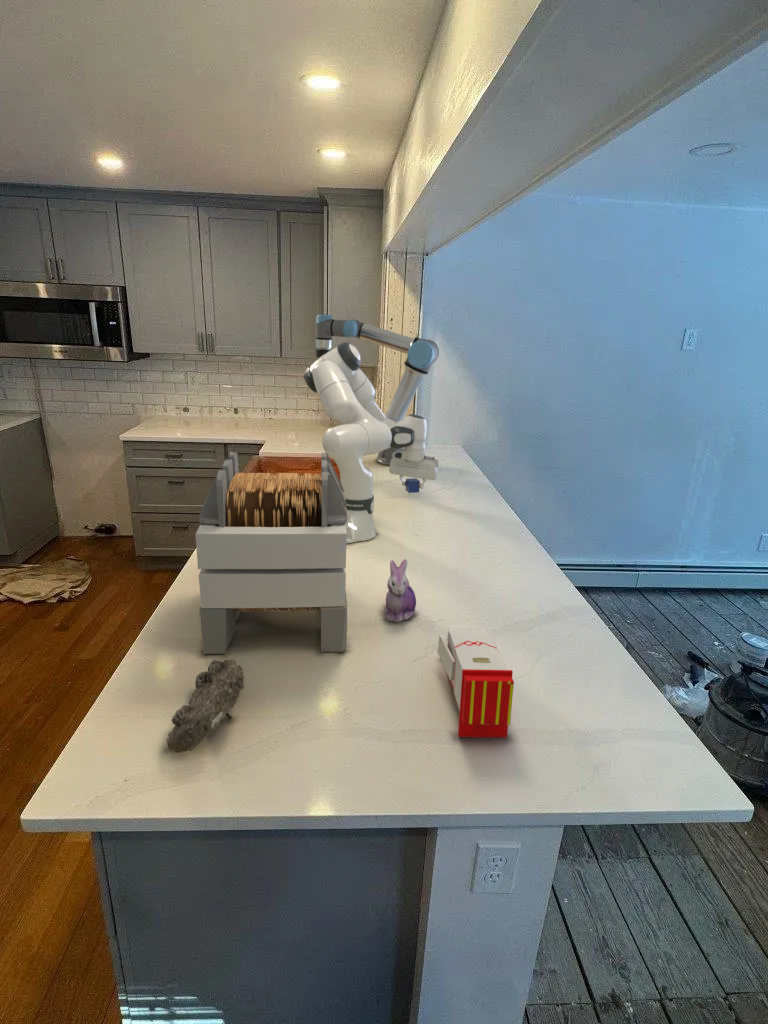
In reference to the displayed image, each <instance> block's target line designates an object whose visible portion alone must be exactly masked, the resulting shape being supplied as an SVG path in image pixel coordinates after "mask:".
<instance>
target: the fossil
mask: <svg viewBox="0 0 768 1024" xmlns="http://www.w3.org/2000/svg"><path fill="white" fill-rule="evenodd" d="M243 670H244V669H243V667H242V665H240V664H237V662H236V661H235V660H234V659H232V658H231V659H227V658H226V659H224V660H223V661H222V660H217V659H212V660H211V661H210V663H209V665H208V666H207V671H201V672H199V673H198V674H197V675H196V676H195V680H194V684H195V685H194V687H195V689H194V690H193V693H192V694H191V697H190V698H189V700H188V704H184V705H182V706H181V707H180V709H177V710H176V711H175V713H174V715H173V716H172V718H171V723H172V724H173V727H172V730H171V731H170V732H168V734H167V738H166V741H167V742H166V745H167V749H168V750H169V751H173V752H174V753H176V754H178V753H182V752H188V751H189V752H192V751H193V750H195V748H196V747H197V746H199V744H200V743H201V742H203V741H204V740H205V739H206V738H207V737H208V736H209V735H210V734H211V733H212V732H214V730H215V729H217V727H218V726H219V724H220V722H221V721H222V720H223V719H224V718H225V716H226V717H227V719H229V720H233V717H232V715H230V714H229V710H230V709H231V708H234V706H235V704H236V703H237V702H238V699H239V697H240V695H241V693H242V691H243V690H245V689H244V688H245V675H244V671H243Z"/></svg>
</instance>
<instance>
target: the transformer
mask: <svg viewBox="0 0 768 1024" xmlns="http://www.w3.org/2000/svg"><path fill="white" fill-rule="evenodd" d="M320 456H321V462H320V463H321V467H320V469H321V470H320V471H321V472H320V473H314V474H313V473H297V472H289V473H288V472H277V473H275V472H274V473H270V472H266V473H265V472H247V473H246V472H240V471H239V469H240V468H239V455H238V451H232V450H231V451H229V453H228V455H227V458H224V461H223V464H222V466H221V468H220V469H219V470H218V471H217V473H216V476H215V477H214V480H213V482H212V484H211V487H210V488H209V490H208V494H207V495H206V498H205V500H204V502H203V505H202V506H201V509H200V512H199V514H198V522H199V524H200V525H199V526H198V529H197V530H196V532H195V546H196V561H197V570H200V571H199V573H198V586H199V599H200V600H199V601H200V607H199V621H200V623H199V624H200V632H201V641H202V651H201V653H202V654H203V655H208V656H210V654H213V655H214V654H216V655H220V654H221V655H222V654H223V655H225V654H226V652H227V649H228V647H229V644H230V642H231V640H232V637H233V636H234V632H235V622H238V618H239V615H240V612H266V611H267V612H278V611H280V612H289V611H295V610H296V611H320V652H321V653H324V652H325V653H326V652H329V653H330V652H332V653H333V652H339V653H344V652H345V651H347V642H348V640H347V639H348V637H347V636H348V600H347V592H346V590H347V589H346V579H347V572H346V571H347V570H346V568H347V543H346V541H347V532H346V524H345V523H347V519H348V514H347V506H346V499H345V491H344V489H343V487H342V484H341V482H340V477H339V476H338V473H337V472H336V470H335V467H334V465H333V462H332V461H331V458H330V457H329V456H328V454H327V453H326V452H321V455H320Z"/></svg>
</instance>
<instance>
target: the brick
mask: <svg viewBox="0 0 768 1024" xmlns="http://www.w3.org/2000/svg"><path fill="white" fill-rule="evenodd" d="M405 481H406V486H405V491H406V492H407V493H408V494H417V493H420V488H419V487H420V486H419V484H420V483H421V481H420V480H419V478H416V477H411V478H405Z"/></svg>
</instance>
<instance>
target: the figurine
mask: <svg viewBox="0 0 768 1024" xmlns="http://www.w3.org/2000/svg"><path fill="white" fill-rule="evenodd" d="M407 567H408V559H406V558H404V559H403V560H402V561H401V563H400V565H399V566H398V565H397V563H396V562H395V561H394V560H393V559H391V560H390V561H389V570H390V576H389V578H388V579H387V589H388V591H387V592H386V594H385V595H386V596H385V607H384V615H385V616H386V620H387V621H391V622H395V623H400V622H402V621H406V620H409V619H410V618H411V617H413V616H414V615H415V610H416V606H417V597H416V593H415V591H414V590H413V587H411V586H410V582H409V579H408V577H407V574H406V571H407Z"/></svg>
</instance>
